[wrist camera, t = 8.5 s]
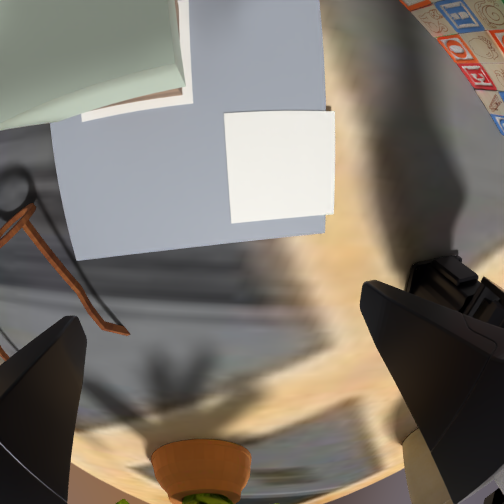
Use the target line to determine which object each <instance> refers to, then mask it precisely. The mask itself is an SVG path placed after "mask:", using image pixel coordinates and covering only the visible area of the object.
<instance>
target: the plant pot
mask: <svg viewBox="0 0 504 504" xmlns="http://www.w3.org/2000/svg"><path fill="white" fill-rule="evenodd" d="M402 447H403V457H404V466H405V472H406V479H407V485H408V490H409V494H410V498H411V502H412V504H453V502H452V500H451V497H450V495H449V493H448V490H447V488H446V486H445V484H444V481H443V479H442V477H441V475H440V472H439V470H438V468H437V466H436V464H435V462H434V459H433V457H432V455H431V452H430V450H429V448H428V446H427V444H426V442H425V440H424V438H423V436H422V434H421V432H420V430H419V428H418V429H417V430H415V431H414V432H413V433H411V434H410V435H409V436H408V437H407V438H406V439H405V440H404V442H403V445H402Z"/></svg>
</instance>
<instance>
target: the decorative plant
mask: <svg viewBox="0 0 504 504" xmlns="http://www.w3.org/2000/svg"><path fill="white" fill-rule="evenodd" d="M151 462H152V465H153V468H154V473H155V477H156V479H157V481H158V482H159V484H160V486H161V487H162V488H163V489H164V490H165V491H166V492H167V494H168V497H169V500H170V502H171V503H173V504H235V503H237V502H238V501H239V500H240V496H241V491H242V490H243V488H244V487H245V485H246V484H247V482H248V479H249V477H250V465H251V454H250V452H249V451H248V450H247V449H246V448H244V447H242V446H240V445H238V444H235V443H232V442H227V441H222V440H213V439H192V440H183V441H178V442H173V443H170V444H167V445H164V446H162V447H160V448H158V449H157V450H156V451H155V452H154V453H153V454H152V456H151ZM116 504H129V503H128V502H127V501H126V500H125V499H122V500H120V501H119V502H117V503H116ZM277 504H279V503H277Z"/></svg>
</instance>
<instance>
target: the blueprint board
mask: <svg viewBox="0 0 504 504" xmlns="http://www.w3.org/2000/svg"><path fill="white" fill-rule="evenodd" d="M178 6H179V31H180V48H181V55H182V62H183V69H184V76H185V83H186V87H182V93H183V95H180V96H171V97H164V98H157V99H150V100H144V101H138V102H132V103H127V104H121V105H116V106H111V107H106V108H102V109H97V110H93V111H88V112H85V113H82V114H79V115H76V116H73V117H70V118H67V119H64V120H62V121H59V122H53V123H50V127H51V136H52V144H53V151H54V158H55V165H56V171H57V177H58V183H59V188H60V193H61V198H62V203H63V208H64V213H65V217H66V221H67V226H68V230H69V234H70V238H71V242H72V245H73V249H74V253H75V256H76V260H77V261H80V260H88V259H96V258H104V257H112V256H121V255H129V254H138V253H146V252H155V251H163V250H172V249H181V248H190V247H198V246H207V245H216V244H225V243H234V242H244V241H253V240H262V239H272V238H281V237H291V236H300V235H310V234H320V233H325V215H329V214H334V189H335V111H326V96H325V72H324V54H323V39H322V26H321V14H320V3H319V0H178Z"/></svg>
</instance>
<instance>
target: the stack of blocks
mask: <svg viewBox="0 0 504 504" xmlns="http://www.w3.org/2000/svg"><path fill="white" fill-rule="evenodd" d="M399 1H400V2H401V3H402V4H403V5H404V6H405V7H406V8H407V9H408V10H409V11H410V12H411V13H412V14H413V15H414V16H415V17H416V19H417V20H418V21H419V22H420V23H421V24H422V25H423V26H424V27H425V28H426V29H427V31H428V32H429V33H430V34H431V35H432V36H433V37H434V38H436V39H437V41H438V42H439V43H440V44H441V45H442V47H443V48H444V49H445V50H446V52H447V53H448V54H449V55H450V56H451V58H452V59H453V60H454V62H455V63H457V65H458V66H459V68H460V69H461V70H462V72H463V73H464V75H465V76H466V77H467V79H468V80H469V82H470V83H471V84H472V86H473V87H474V88H475V91H476V93H477V94H478V96H479V97H480V99H481V101H482V102H483V104H484V105H485V107H486V109H487V110H488V112H489V113H490V115H491V117H492V119H493V120H494V122H495V124H496V125H497V127H498V129H499V131H500V133H501V134H502V135H504V0H399Z"/></svg>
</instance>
